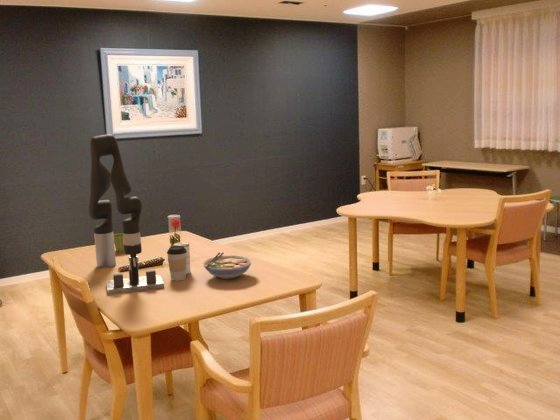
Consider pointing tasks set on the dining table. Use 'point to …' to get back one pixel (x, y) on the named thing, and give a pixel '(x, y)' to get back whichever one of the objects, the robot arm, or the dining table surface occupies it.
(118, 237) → the plant pot
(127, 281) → the panel
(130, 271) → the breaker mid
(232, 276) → the ramen bowl
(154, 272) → the block
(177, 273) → the coffee cup
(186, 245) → the syrup box
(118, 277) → the block
